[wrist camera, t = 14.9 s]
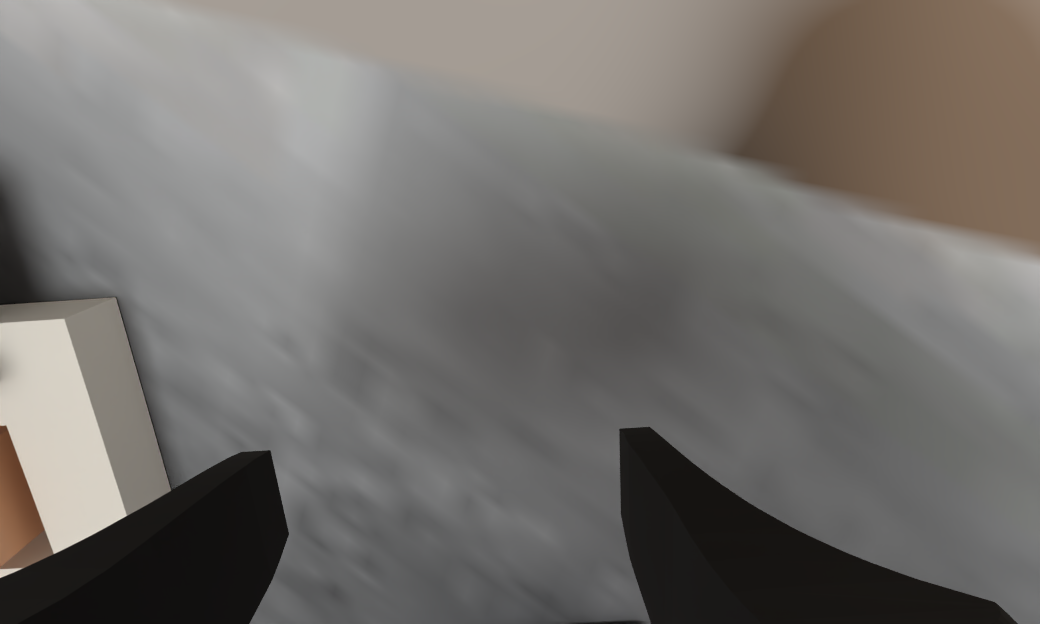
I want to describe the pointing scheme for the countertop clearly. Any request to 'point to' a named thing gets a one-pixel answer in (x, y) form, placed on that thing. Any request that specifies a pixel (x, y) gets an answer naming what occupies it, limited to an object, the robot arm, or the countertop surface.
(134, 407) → the socket board
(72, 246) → the countertop surface
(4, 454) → the plug
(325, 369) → the countertop surface
